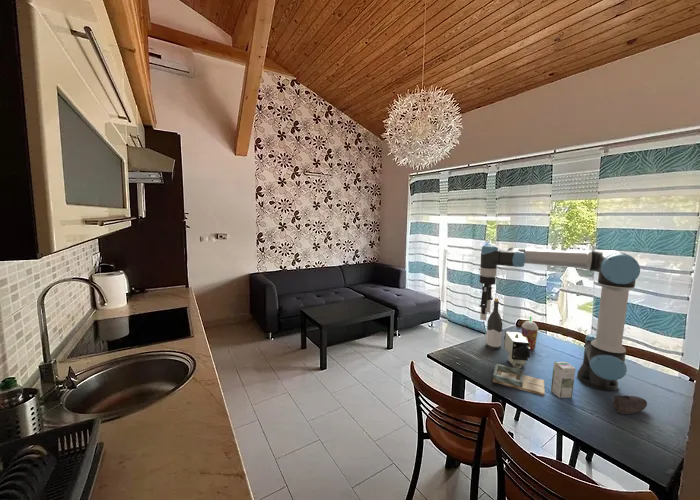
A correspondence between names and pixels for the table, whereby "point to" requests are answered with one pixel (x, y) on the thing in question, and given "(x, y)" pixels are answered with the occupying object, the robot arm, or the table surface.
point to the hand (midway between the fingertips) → (485, 315)
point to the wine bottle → (494, 328)
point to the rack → (517, 379)
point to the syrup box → (563, 379)
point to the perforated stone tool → (629, 404)
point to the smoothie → (530, 332)
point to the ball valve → (516, 348)
